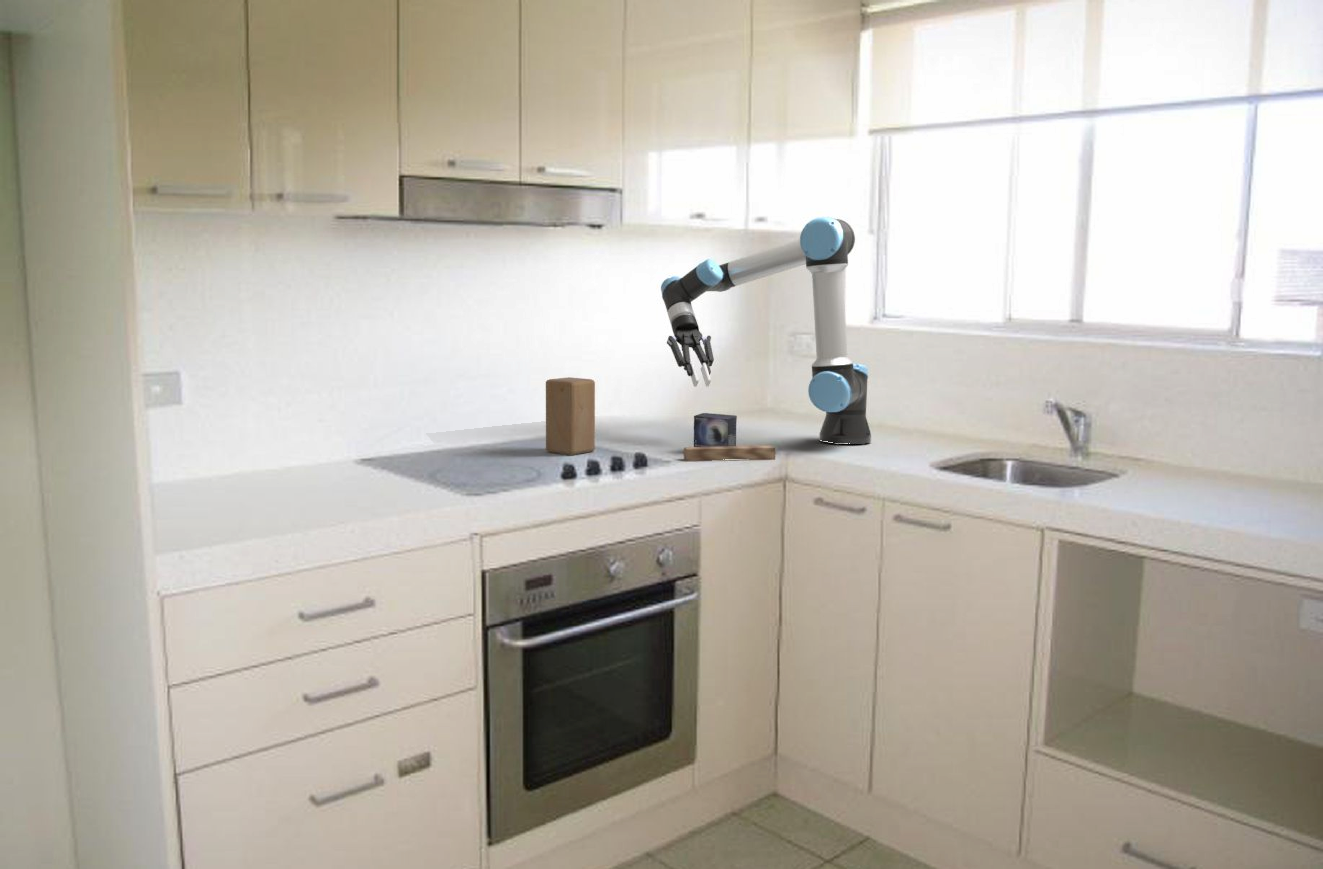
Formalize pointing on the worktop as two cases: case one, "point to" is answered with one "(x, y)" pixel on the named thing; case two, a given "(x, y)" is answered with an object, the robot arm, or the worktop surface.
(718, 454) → the long brown wooden bar
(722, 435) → the small box
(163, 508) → the worktop surface
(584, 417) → the wooden block
